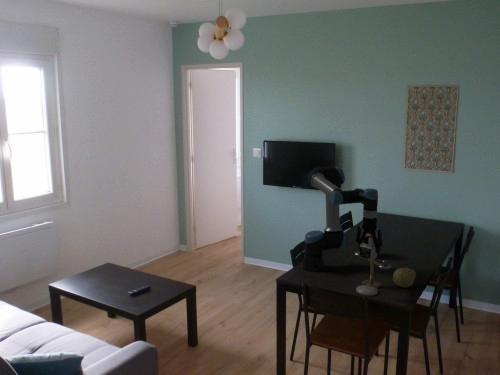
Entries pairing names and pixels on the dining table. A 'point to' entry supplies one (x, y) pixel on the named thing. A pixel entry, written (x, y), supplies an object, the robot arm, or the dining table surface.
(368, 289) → the dish
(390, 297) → the dining table surface
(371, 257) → the grey piece
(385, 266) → the balance
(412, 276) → the olive brown dome
